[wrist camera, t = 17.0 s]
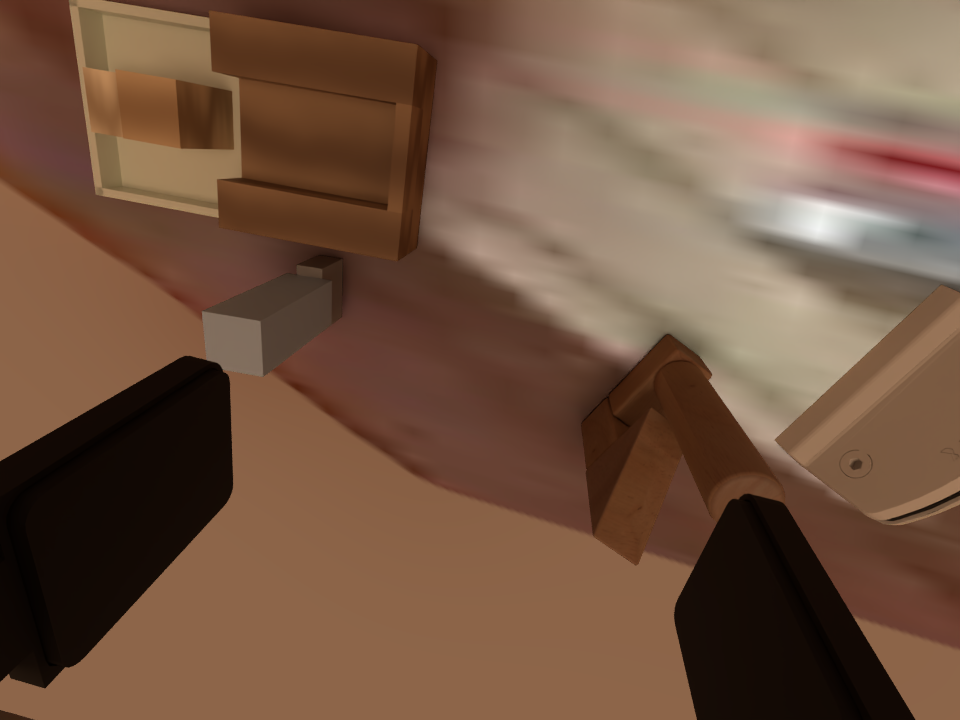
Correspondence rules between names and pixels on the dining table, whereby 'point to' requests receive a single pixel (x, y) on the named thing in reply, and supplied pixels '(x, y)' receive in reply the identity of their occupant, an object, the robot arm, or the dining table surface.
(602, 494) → the tan angled rod fixture
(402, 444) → the dining table surface
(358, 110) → the groove board
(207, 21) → the tray
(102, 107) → the birch block
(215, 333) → the square grey bottle
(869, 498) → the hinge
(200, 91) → the oak block
